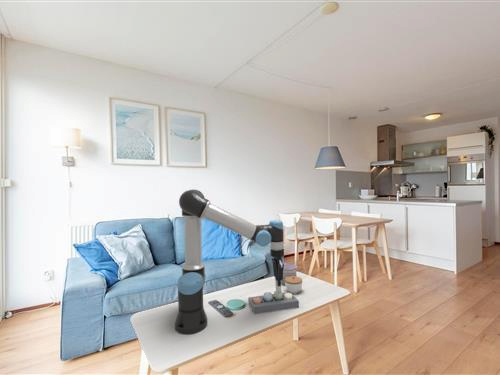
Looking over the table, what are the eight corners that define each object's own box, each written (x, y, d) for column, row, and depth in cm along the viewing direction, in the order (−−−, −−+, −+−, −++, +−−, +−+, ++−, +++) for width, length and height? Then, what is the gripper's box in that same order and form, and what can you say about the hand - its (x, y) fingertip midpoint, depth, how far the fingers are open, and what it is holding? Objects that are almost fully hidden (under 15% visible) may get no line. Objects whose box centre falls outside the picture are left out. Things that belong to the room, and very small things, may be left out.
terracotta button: (254, 307, 135) (254, 301, 135) (252, 304, 139) (252, 297, 139) (262, 306, 136) (262, 300, 136) (260, 303, 140) (260, 296, 140)
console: (254, 314, 131) (254, 307, 131) (248, 303, 142) (248, 297, 142) (298, 307, 137) (298, 300, 137) (289, 297, 148) (289, 291, 148)
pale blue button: (265, 302, 136) (265, 296, 136) (262, 299, 140) (262, 292, 140) (273, 301, 137) (272, 295, 137) (270, 297, 141) (270, 291, 141)
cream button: (286, 303, 139) (286, 296, 139) (283, 299, 143) (283, 293, 143) (293, 302, 140) (293, 295, 140) (290, 298, 144) (290, 292, 144)
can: (300, 283, 169) (300, 265, 169) (289, 288, 162) (289, 269, 161) (287, 278, 178) (286, 261, 178) (276, 283, 170) (275, 265, 170)
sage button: (275, 301, 138) (275, 294, 138) (273, 297, 142) (273, 291, 142) (283, 299, 139) (283, 293, 139) (280, 296, 143) (280, 290, 143)
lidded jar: (301, 288, 161) (301, 273, 161) (303, 295, 151) (303, 280, 151) (284, 287, 162) (284, 273, 162) (285, 295, 152) (285, 279, 152)
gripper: (288, 250, 134) (289, 295, 135) (279, 245, 147) (280, 285, 147) (274, 252, 133) (276, 297, 133) (266, 246, 145) (268, 287, 146)
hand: (278, 291), depth 140 cm, fingers closed
